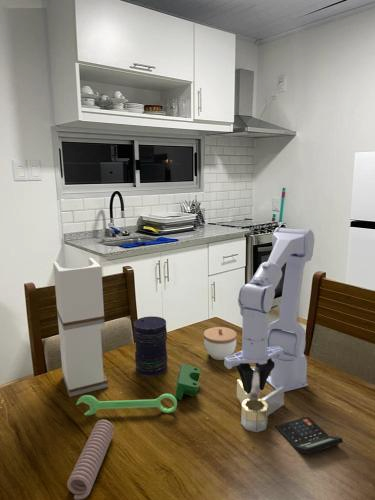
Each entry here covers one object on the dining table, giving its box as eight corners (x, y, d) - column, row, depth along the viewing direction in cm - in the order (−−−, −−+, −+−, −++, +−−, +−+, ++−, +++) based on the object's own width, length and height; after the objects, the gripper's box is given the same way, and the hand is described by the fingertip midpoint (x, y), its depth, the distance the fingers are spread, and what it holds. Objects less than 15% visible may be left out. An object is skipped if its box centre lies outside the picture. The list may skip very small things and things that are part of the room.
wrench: (76, 418, 95) (74, 398, 94) (78, 413, 97) (76, 394, 96) (177, 414, 96) (177, 395, 95) (177, 409, 98) (176, 390, 97)
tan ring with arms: (266, 389, 106) (267, 372, 105) (299, 419, 93) (300, 400, 92) (221, 400, 101) (221, 383, 100) (250, 434, 88) (250, 414, 87)
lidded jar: (238, 363, 120) (238, 335, 118) (204, 363, 120) (204, 335, 119) (234, 348, 131) (235, 322, 129) (203, 348, 131) (203, 322, 129)
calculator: (307, 419, 94) (308, 408, 93) (342, 451, 83) (343, 439, 83) (275, 428, 91) (275, 417, 90) (306, 463, 80) (307, 450, 79)
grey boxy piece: (108, 386, 108) (101, 266, 101) (69, 396, 104) (59, 271, 96) (98, 368, 118) (91, 257, 111) (62, 376, 114) (53, 262, 106)
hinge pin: (254, 392, 93) (255, 365, 91) (262, 398, 90) (263, 371, 88) (244, 395, 91) (244, 368, 90) (251, 401, 89) (252, 374, 87)
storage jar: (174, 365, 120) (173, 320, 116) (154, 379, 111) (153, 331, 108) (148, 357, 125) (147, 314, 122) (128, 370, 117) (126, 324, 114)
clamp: (191, 411, 103) (198, 393, 98) (171, 406, 103) (177, 388, 99) (197, 377, 112) (203, 359, 108) (178, 372, 112) (184, 354, 108)
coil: (94, 418, 88) (62, 480, 70) (113, 417, 88) (87, 479, 70) (97, 436, 89) (67, 501, 71) (116, 435, 88) (91, 500, 71)
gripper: (235, 348, 81) (234, 406, 84) (292, 337, 86) (289, 391, 89) (220, 335, 88) (219, 389, 90) (274, 325, 93) (272, 376, 96)
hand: (253, 389), depth 90 cm, fingers closed on hinge pin, 3 cm apart
